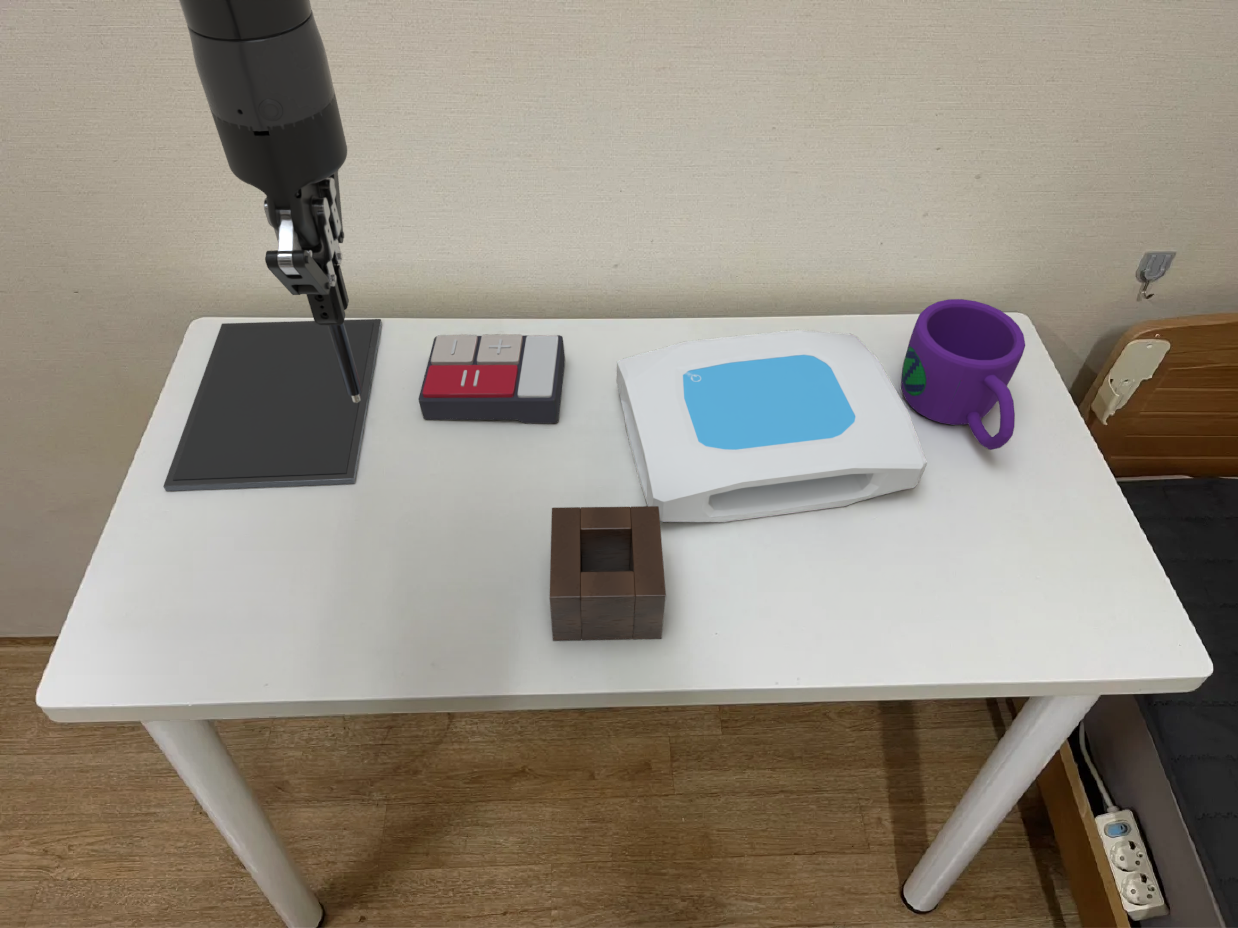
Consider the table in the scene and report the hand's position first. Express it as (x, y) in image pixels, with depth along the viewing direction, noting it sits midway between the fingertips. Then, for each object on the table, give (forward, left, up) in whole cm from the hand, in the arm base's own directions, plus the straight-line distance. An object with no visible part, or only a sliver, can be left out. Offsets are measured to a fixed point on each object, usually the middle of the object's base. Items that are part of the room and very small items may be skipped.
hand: (332, 314), depth 68 cm
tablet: (-5, +23, -27) cm, 36 cm away
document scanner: (+39, -6, -27) cm, 48 cm away
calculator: (+17, +14, -27) cm, 35 cm away
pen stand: (+15, -16, -27) cm, 35 cm away
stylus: (0, 0, -9) cm, 9 cm away
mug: (+61, -13, -27) cm, 68 cm away
